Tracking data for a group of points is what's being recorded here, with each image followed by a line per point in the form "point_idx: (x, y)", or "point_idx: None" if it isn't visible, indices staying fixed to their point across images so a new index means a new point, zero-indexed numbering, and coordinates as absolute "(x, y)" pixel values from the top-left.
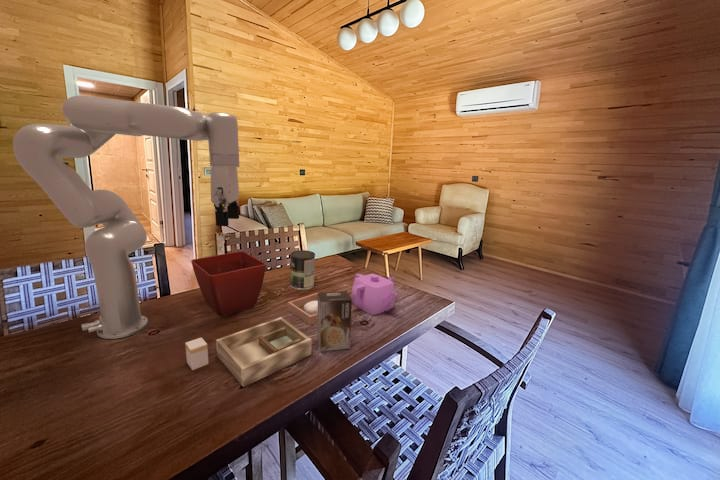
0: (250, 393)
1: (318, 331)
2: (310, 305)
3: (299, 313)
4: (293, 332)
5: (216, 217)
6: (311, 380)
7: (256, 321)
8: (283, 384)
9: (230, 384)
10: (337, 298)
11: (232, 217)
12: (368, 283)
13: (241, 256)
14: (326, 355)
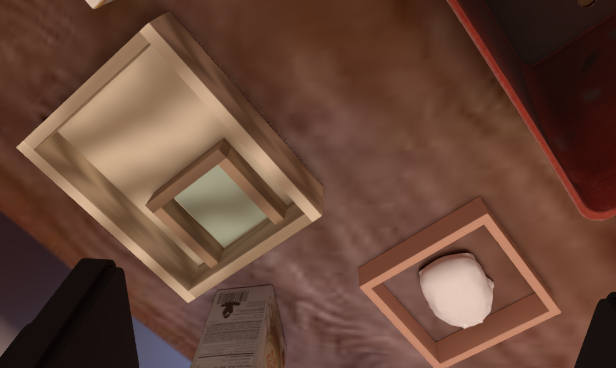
0: None
1: (235, 318)
2: (444, 288)
3: (412, 247)
4: (241, 250)
5: (25, 349)
6: None
7: (396, 96)
8: (77, 214)
9: (50, 89)
10: None
11: (590, 358)
12: None
13: None
14: (202, 303)
